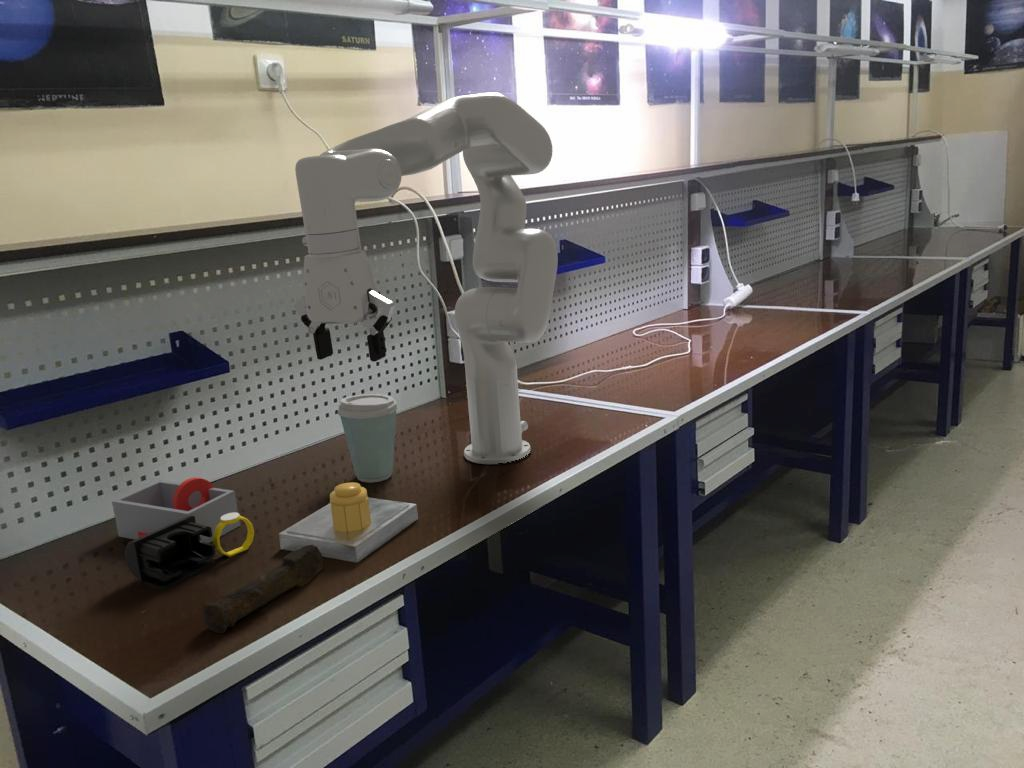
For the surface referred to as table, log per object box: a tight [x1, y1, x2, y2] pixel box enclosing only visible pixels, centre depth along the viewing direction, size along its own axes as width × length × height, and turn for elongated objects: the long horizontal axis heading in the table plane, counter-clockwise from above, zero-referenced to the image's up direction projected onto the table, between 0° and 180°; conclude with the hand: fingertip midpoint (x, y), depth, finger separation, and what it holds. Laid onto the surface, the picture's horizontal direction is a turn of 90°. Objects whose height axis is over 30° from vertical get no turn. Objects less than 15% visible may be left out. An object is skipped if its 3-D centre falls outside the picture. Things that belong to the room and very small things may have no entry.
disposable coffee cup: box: [337, 393, 399, 484], centre depth 155 cm, size 11×11×15 cm
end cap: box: [124, 516, 216, 591], centre depth 123 cm, size 10×7×7 cm
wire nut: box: [329, 481, 371, 532], centre depth 129 cm, size 5×5×6 cm
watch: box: [212, 512, 255, 558], centre depth 128 cm, size 6×3×6 cm, turn 138°
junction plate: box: [278, 497, 419, 564], centre depth 132 cm, size 16×14×6 cm
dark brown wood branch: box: [202, 545, 325, 634], centre depth 113 cm, size 19×4×5 cm, turn 145°
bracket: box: [138, 476, 215, 538], centre depth 137 cm, size 12×4×8 cm, turn 138°
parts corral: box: [111, 479, 241, 544], centre depth 138 cm, size 10×17×6 cm, turn 63°
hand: (351, 358), depth 130 cm, fingers open, 9 cm apart
